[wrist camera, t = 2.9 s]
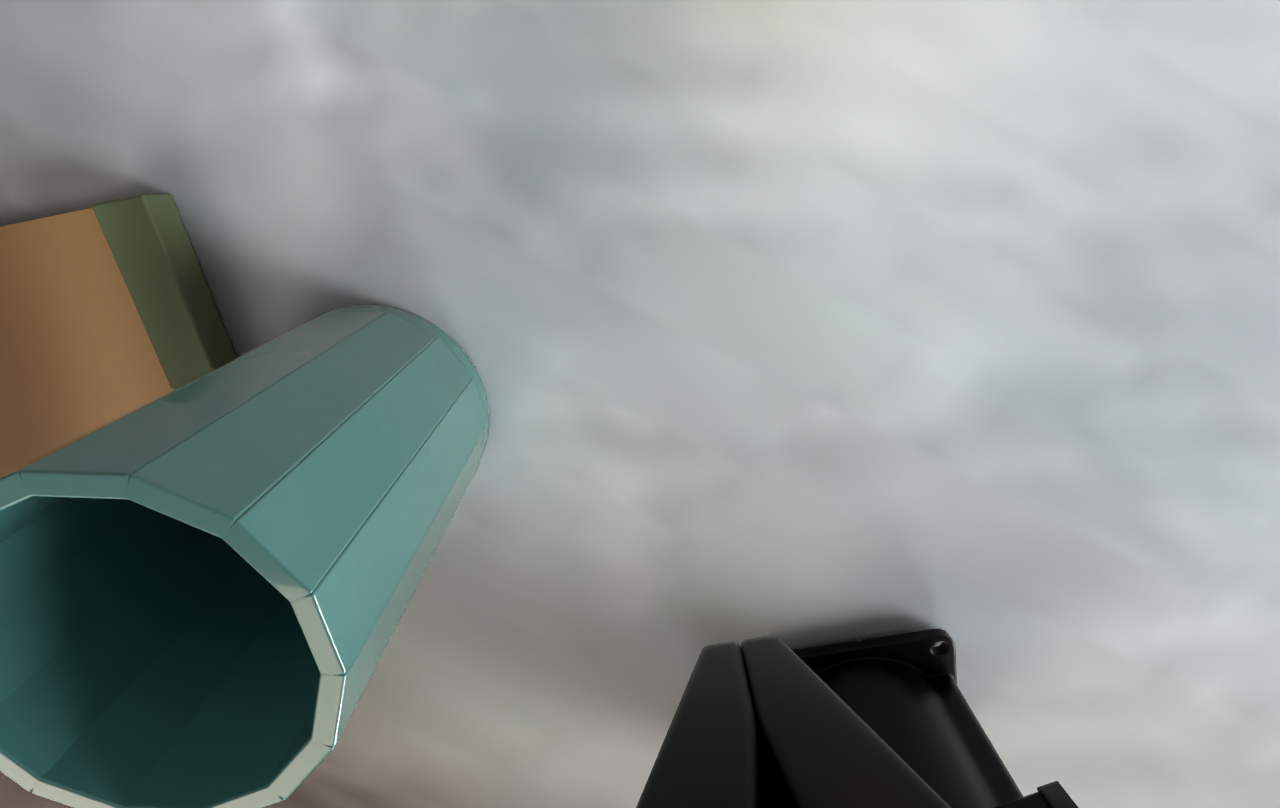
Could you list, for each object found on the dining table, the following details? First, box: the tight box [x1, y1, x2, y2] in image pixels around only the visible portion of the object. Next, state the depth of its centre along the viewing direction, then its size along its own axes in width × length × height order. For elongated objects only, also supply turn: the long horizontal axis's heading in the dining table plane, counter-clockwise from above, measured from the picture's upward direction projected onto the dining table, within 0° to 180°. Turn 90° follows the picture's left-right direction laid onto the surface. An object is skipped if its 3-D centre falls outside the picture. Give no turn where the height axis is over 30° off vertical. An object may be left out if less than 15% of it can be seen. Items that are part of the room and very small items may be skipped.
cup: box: [0, 305, 489, 808], centre depth 15 cm, size 6×6×11 cm
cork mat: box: [0, 193, 236, 475], centre depth 21 cm, size 13×14×1 cm
